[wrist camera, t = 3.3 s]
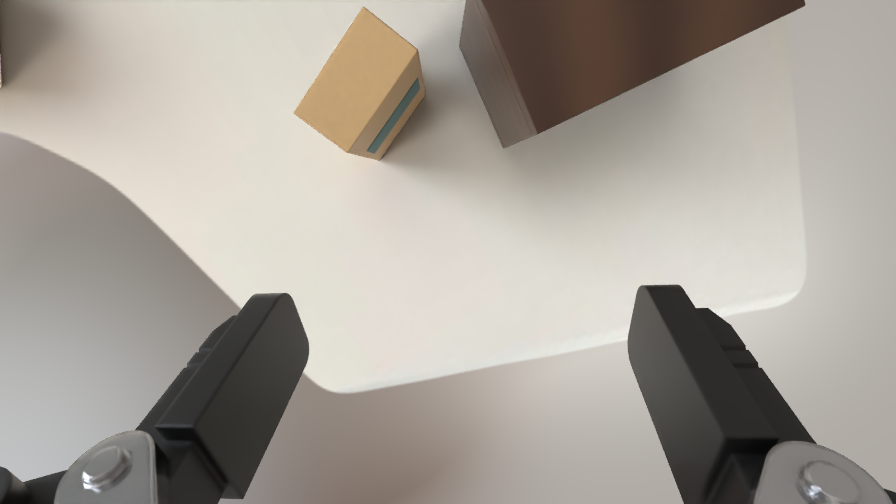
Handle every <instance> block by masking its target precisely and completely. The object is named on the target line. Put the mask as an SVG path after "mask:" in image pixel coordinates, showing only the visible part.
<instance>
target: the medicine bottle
mask: <svg viewBox="0 0 896 504" xmlns="http://www.w3.org/2000/svg"><path fill="white" fill-rule="evenodd" d="M0 88H1V56H0Z"/></svg>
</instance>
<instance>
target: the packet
mask: <svg viewBox="0 0 896 504" xmlns="http://www.w3.org/2000/svg"><path fill="white" fill-rule="evenodd" d="M424 96H425V88H424V82H423V76H422V70H421V65H420V59H419V53H418V49H416V48H415V47H414V46H413V45H411V44H410V43H409V42H408V41H406V40H405V39H404V38H403V37H401V36H400V35H399V34H398V33H396V32H395V31H394V30H393V29H391V28H390V27H389V26H388V25H386V24H385V23H384V22H383V21H381V20H380V19H379V18H378V17H376V16H375V15H374V14H373V13H371V12H370V11H369V10H368V9H366V8H365V7H363V8H362V9H361V11H360V12H359V14H358V15H357V17H356V18H355V20H354V21H353V23H352V24H351V26H350V27H349V29H348V30H347V32H346V34H345V35H344V37H343V38H342V40H341V41H340V43H339V44H338V46H337V47H336V49H335V50H334V52H333V53H332V55H331V56H330V58H329V59H328V61H327V63H326V64H325V66H324V67H323V69H322V70H321V72H320V73H319V75H318V76H317V78H316V79H315V81H314V82H313V84H312V85H311V87H310V88H309V90H308V92H307V93H306V95H305V96H304V98H303V99H302V101H301V102H300V104H299V105H298V107H297V108H296V110H295V111H294V114H295V115H296V116H298V117H299V118H301V119H302V120H303V121H305V122H306V123H307V124H309V125H310V126H311V127H313V128H314V129H315V130H317V131H318V132H319V133H321V134H322V135H324V136H325V137H326V138H328V139H329V140H330V141H332V142H333V143H334V144H336V145H337V146H338V147H340V148H341V149H342V150H344V151H345V152H347V153H350V154H355V155H359V156H363V157H367V158H371V159H375V160H380V159H381V157H382V156H383V155H384V153H385V152H386V150H387V149H388V147H389V146H390V145H391V143H392V142H393V140H394V139H395V137H396V136H397V135H398V133H399V132H400V130H401V129H402V128H403V126H404V125H405V123H406V122H407V120H408V119H409V118H410V116H411V115H412V113H413V112H414V110H415V109H416V108H417V106H418V105H419V103H420V102H421V100H422V99H423V98H424Z"/></svg>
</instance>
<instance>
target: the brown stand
mask: <svg viewBox="0 0 896 504" xmlns="http://www.w3.org/2000/svg"><path fill="white" fill-rule="evenodd" d="M803 6H805V1H804V0H466V3H465V10H464V16H463V23H462V30H461V36H460V44H459V47H460V49H461V52H462V54H463V56H464V59H465V61H466V63H467V66H468V68H469V70H470V72H471V75H472V77H473V79H474V82H475V84H476V86H477V89H478V91H479V93H480V96H481V98H482V100H483V102H484V105H485V107H486V109H487V112H488V114H489V116H490V119H491V121H492V123H493V126H494V128H495V130H496V132H497V135H498V137H499V139H500V142H501V144H502V146H503V148H505V147H508V146H510V145H513V144H515V143H517V142H520V141H522V140H525V139H527V138H530V137H532V136H534V135H537V134H539V133H541V132H543V131H545V130H547V129H549V128H551V127H554V126H556V125H558V124H560V123H562V122H564V121H566V120H568V119H570V118H572V117H574V116H576V115H579V114H581V113H583V112H585V111H587V110H589V109H591V108H593V107H595V106H597V105H599V104H601V103H604V102H606V101H608V100H610V99H612V98H614V97H616V96H618V95H620V94H622V93H624V92H626V91H629V90H631V89H633V88H635V87H637V86H639V85H641V84H643V83H645V82H647V81H649V80H651V79H654V78H656V77H658V76H660V75H662V74H664V73H666V72H668V71H670V70H672V69H674V68H676V67H679V66H681V65H683V64H685V63H687V62H689V61H691V60H693V59H695V58H697V57H699V56H702V55H704V54H706V53H708V52H710V51H712V50H714V49H716V48H718V47H720V46H722V45H724V44H727V43H729V42H731V41H733V40H735V39H737V38H739V37H741V36H743V35H745V34H747V33H749V32H752V31H754V30H756V29H758V28H760V27H762V26H764V25H766V24H768V23H770V22H772V21H774V20H777V19H779V18H781V17H783V16H785V15H787V14H789V13H791V12H793V11H795V10H797V9H799V8H801V7H803Z"/></svg>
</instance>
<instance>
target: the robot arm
mask: <svg viewBox="0 0 896 504" xmlns="http://www.w3.org/2000/svg"><path fill="white" fill-rule="evenodd" d="M628 354H629V359H630V363H631V366H632V369H633V371H634V374H635V376H636V379H637V382H638V384H639V387H640V390H641V392H642V395H643V397H644V400H645V403H646V405H647V408H648V410H649V413H650V416H651V418H652V421H653V423H654V426H655V428H656V431H657V434H658V436H659V439H660V442H661V444H662V447H663V450H664V452H665V455H666V458H667V460H668V463H669V465H670V468H671V471H672V473H673V476H674V478H675V481H676V484H677V486H678V489H679V492H680V494H681V497H682V499H683V502H684V504H896V493H895V492H892V491H889V490H886V489H883V488H882V487H881V486H880V485H879V484H878V482H876V480H875V479H874V478H873V477H872V476H871V475H869V474H868V473H867V472H866V471H865V470H864V469H863V468H861V467H859V465H857V464H856V463H854V462H853V461H851V460H850V459H848V458H846V457H845V456H843V455H841V454H839V453H837V452H835V451H833V450H831V449H829V448H826V447H824V446H821V445H817V444H816V442H815V441H814V440H813V439H812V437H811V436H810V435H809V433H808V432H807V431H806V429H805V428H804V426H803V425H802V423H801V422H800V421H799V420H798V418H797V416H796V415H795V414H794V412H793V411H792V410H791V408H790V407H789V405H788V404H787V403H786V401H785V400H784V399H783V397H782V396H781V394H780V393H779V391H778V390H777V389H776V387H775V386H774V384H773V383H772V382H771V380H770V379H769V378H768V376H767V375H766V373H765V372H764V371H763V369H762V368H759V367H758V362H757V361H756V359H755V358H754V357H753V355H752V354H751V352H750V351H749V350H746V348H745V344H744V343H743V341H742V340H741V339H740V337H739V336H738V335H737V333H736V332H735V330H734V329H733V328H732V326H731V325H730V324H729V323H727V322H726V321H724V320H723V319H722V318H721V317H719V316H718V315H716V314H715V313H714V312H712V311H711V310H710V309H708V308H695V306H694V305H693V303H692V302H691V300H690V299H689V297H688V296H687V294H686V292H685V291H684V289H683V288H682V287H681V286H680V285H642V286H640V287H639V288H638V291H637V294H636V299H635V304H634V309H633V314H632V319H631V324H630V329H629V334H628ZM308 356H309V342H308V338H307V335H306V333H305V330H304V328H303V325H302V322H301V320H300V317H299V314H298V312H297V309H296V306H295V304H294V301H293V299H292V297H291V296H290V295H289V294H287V293H270V294H255V295H253V296H252V297H251V298H250V299H249V300H248V302H247V303H246V304H245V306H244V307H243V308H242V310H241V311H240V312H239V314H238V315H237V316H232V317H231V318H229V319H228V320H227V321H225V322H224V323H223V324H221V325H220V326H219V327H218V328H216V329H215V330H214V331H213V332H212V333H211V334H210V335H209V337H208V338H207V339H206V341H205V342H204V343H203V344H202V346H201V347H200V348H199V352H198V353H195V355H194V356H193V357H192V358H191V360H190V361H189V362H188V363H187V368H184V369H183V370H182V371H181V372H180V374H179V375H178V376H177V378H176V379H175V380H174V381H173V383H172V384H171V386H169V388H168V389H167V390H166V392H165V393H164V394H163V395H162V397H161V398H160V399H159V400H158V402H157V403H156V405H155V406H154V407H153V408H152V410H151V411H150V412H149V413H148V415H147V416H146V417H145V418H144V420H143V421H142V422H141V423H140V425H139V426H138V427H137V428H136V429H135V431H126V432H122V433H119V434H116V435H114V436H111V437H109V438H107V439H105V440H103V441H101V442H100V443H98V444H96V445H95V446H93V447H92V448H91V449H89V450H88V451H86V452H85V453H84V454H83V455H82V456H81V457H79V458H78V459H77V460H76V461H75V462H74V463H73V464H72V465H71V466H70V468H69V469H68V470H65V471H62V472H58V473H54V474H51V475H47V476H44V477H40V478H37V479H33V480H29V481H26V482H22V481H20V480H19V479H18V478H17V477H16V476H14V475H13V474H12V473H11V472H10V471H8V470H7V469H6V468H3V467H0V504H218V502H219V500H220V498H226V499H243V498H244V496H245V494H246V491H247V489H248V487H249V485H250V483H251V481H252V479H253V477H254V474H255V473H256V470H257V468H258V466H259V464H260V462H261V459H262V458H263V455H264V453H265V451H266V449H267V447H268V445H269V443H270V440H271V438H272V436H273V434H274V432H275V430H276V428H277V426H278V424H279V421H280V419H281V417H282V415H283V413H284V411H285V409H286V407H287V404H288V402H289V400H290V398H291V396H292V394H293V391H294V390H295V387H296V385H297V383H298V381H299V379H300V377H301V375H302V373H303V370H304V368H305V366H306V364H307V361H308Z"/></svg>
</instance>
